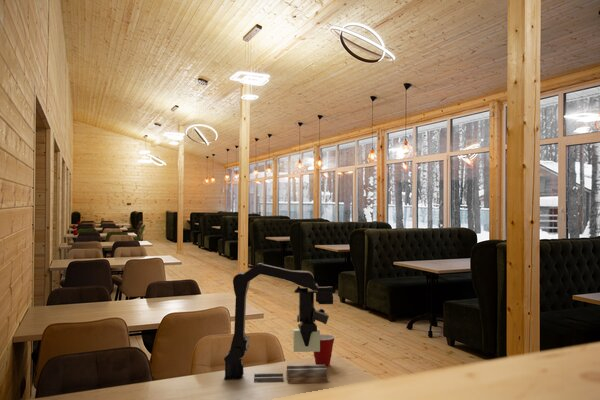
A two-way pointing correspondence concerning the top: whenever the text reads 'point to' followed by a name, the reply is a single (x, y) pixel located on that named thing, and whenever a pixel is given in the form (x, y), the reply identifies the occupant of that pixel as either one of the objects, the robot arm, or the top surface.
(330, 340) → the plastic cup
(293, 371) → the track plinth
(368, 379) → the top surface
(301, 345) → the door panel
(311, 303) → the robot arm
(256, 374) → the grey upright bracket
